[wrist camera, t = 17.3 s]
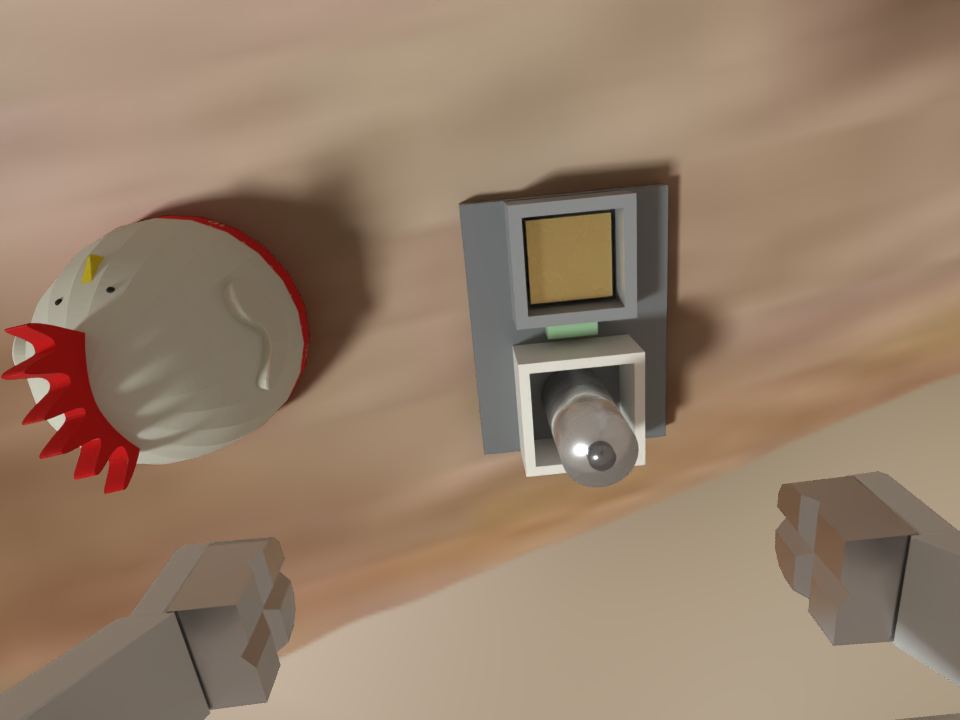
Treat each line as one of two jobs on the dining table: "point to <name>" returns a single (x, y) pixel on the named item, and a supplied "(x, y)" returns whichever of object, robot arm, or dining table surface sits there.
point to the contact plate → (569, 257)
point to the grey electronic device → (567, 319)
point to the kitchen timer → (161, 346)
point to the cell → (588, 428)
